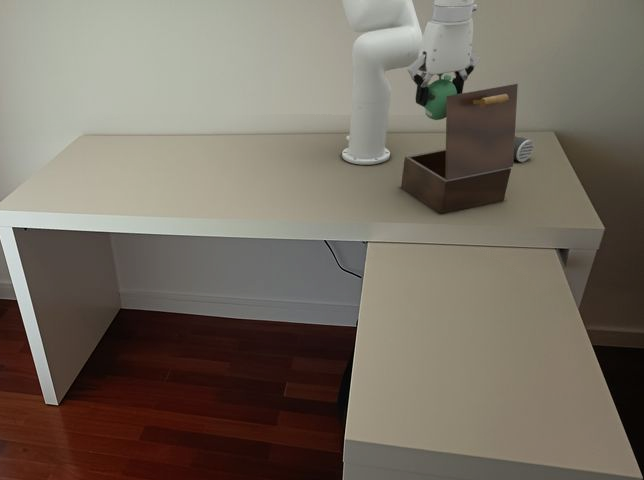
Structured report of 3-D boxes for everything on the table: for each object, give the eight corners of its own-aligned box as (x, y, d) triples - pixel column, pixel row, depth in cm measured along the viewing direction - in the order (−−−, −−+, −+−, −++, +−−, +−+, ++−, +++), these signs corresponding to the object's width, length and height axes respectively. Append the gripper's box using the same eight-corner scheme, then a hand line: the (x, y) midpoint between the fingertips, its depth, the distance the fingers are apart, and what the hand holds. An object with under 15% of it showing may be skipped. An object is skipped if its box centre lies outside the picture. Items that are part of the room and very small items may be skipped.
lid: (446, 95, 135) (461, 95, 131) (515, 83, 138) (532, 82, 133) (445, 179, 142) (459, 182, 137) (510, 166, 145) (526, 168, 140)
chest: (400, 187, 160) (404, 156, 155) (459, 175, 162) (465, 145, 158) (440, 214, 147) (445, 181, 142) (503, 200, 149) (511, 168, 145)
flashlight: (470, 147, 176) (473, 127, 173) (485, 142, 178) (489, 123, 175) (515, 163, 165) (520, 143, 162) (531, 159, 167) (536, 138, 163)
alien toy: (412, 116, 148) (419, 70, 142) (446, 112, 148) (454, 66, 142) (423, 126, 142) (430, 78, 136) (458, 122, 142) (467, 75, 136)
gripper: (478, 5, 136) (463, 91, 147) (403, 16, 134) (393, 103, 144) (501, 10, 130) (483, 100, 141) (423, 22, 128) (411, 112, 138)
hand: (438, 101), depth 143 cm, fingers closed on alien toy, 7 cm apart
